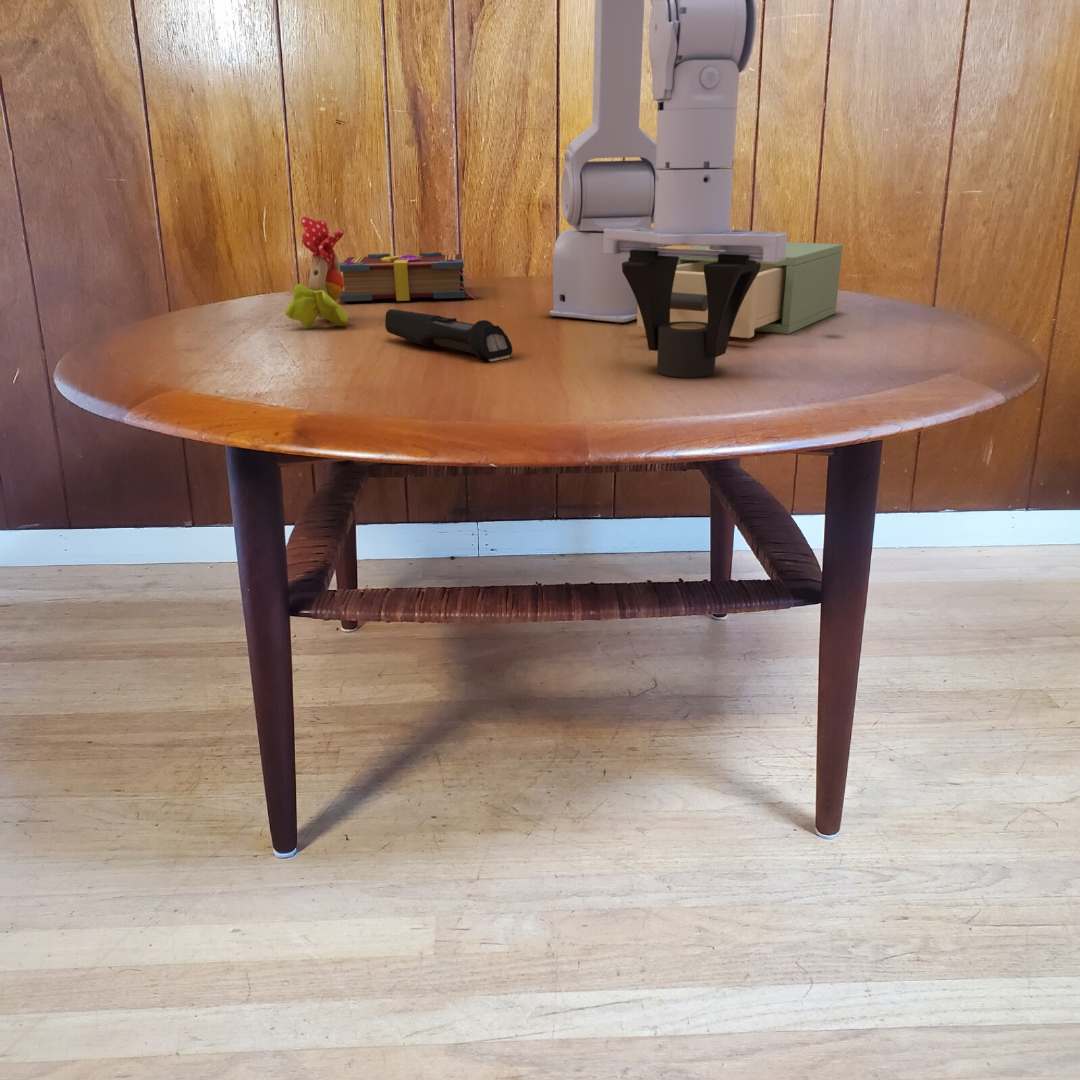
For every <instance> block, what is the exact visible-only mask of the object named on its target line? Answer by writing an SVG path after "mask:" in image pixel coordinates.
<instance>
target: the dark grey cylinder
mask: <svg viewBox="0 0 1080 1080" xmlns="http://www.w3.org/2000/svg"><path fill="white" fill-rule="evenodd" d="M707 324H708V323H705V322H693V321H680V322H669V323H664V324H661V325H659V327H658V350H657V359H656V360H657V361H656V372H657V374H660V375H663V376H665V377H672V378H681V379H682V378H683V379H693V378H694V379H695V378H703V377H708V376H712V375H714V373H715V372H716V357H707V352H706V337H707Z"/></svg>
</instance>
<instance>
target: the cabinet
mask: <svg viewBox="0 0 1080 1080" xmlns="http://www.w3.org/2000/svg"><path fill="white" fill-rule="evenodd" d="M843 247H844V245H843V244H842V243H826V242H825V243H822V242H800V241H799V242H798V241H797V242H796V241H787V247H786V259H785V260H784V261H780V262H777V263H768V262H763V261H756V262H760V263H761V264H767V265H786V266H787V268H786V280H785V292H784V304H783V316H782V318H781V319H778V320H776V321H773V322H771V323H768V324H766V325H763V326H761V327H758V328H756V329H754V332H760V333H761V332H762V333H772V334H784V335H789V334H792V333H794V332H796V331H799V330H800V329H801V330H802V329H803V328H806V327H807V326H810V325H812V324H815V323H816V322H819V321H821V320H823V319H826V318H828V317H830V316H832V315H835V314H836V313H837V312H836V311H837V303H838V292H839V285H840V284H839V283H840V274H841V264H842V257H843V256H842V255H843ZM687 249H688V250H709V251H725V250H711V249H710V246H692V247H688V248H687ZM693 261H711V262H718V259H716V258H697V257H679V260H678V264H677V265H680V264H685V263H689V262H693Z"/></svg>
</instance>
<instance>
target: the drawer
mask: <svg viewBox="0 0 1080 1080" xmlns="http://www.w3.org/2000/svg"><path fill="white" fill-rule="evenodd" d="M709 263H714V262H711V261H693V262H689V263H685V264H680V265H677V268H676V272H675V277H674V282H673V288H672V295H671V303H670V322H680V321H693V322H705V323H708V302H707V290H706V282H705V275H704V265H705V264H709ZM786 268H787V266H786V265H767V264H761V267H760V270H759V273H758V274H757V276H756V278H755V279H754V281H753V283H752V284H751V286H750V288H749V290H748V292H747V294H746V295H745V297H744V300H743V302H742V304H741V306H740V308H739V311H738V313H737V316H736V318H735V321H734V324H733V327H732V330H731V333H730V337H731V338H741V339H751V338H752V337H754V336H755V331H754V329H756V328H758V327H761V326H763V325H766V324H768V323H771V322H773V321H776V320H778V319H781V318H782V316H783V304H784V292H785V280H786ZM636 327H637V328H640V329H641V328H642V329H645V327H644V323H643V319H642V316H641V312H640V309H639V306H638V310H637V319H636ZM730 337H729V338H730Z"/></svg>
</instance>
